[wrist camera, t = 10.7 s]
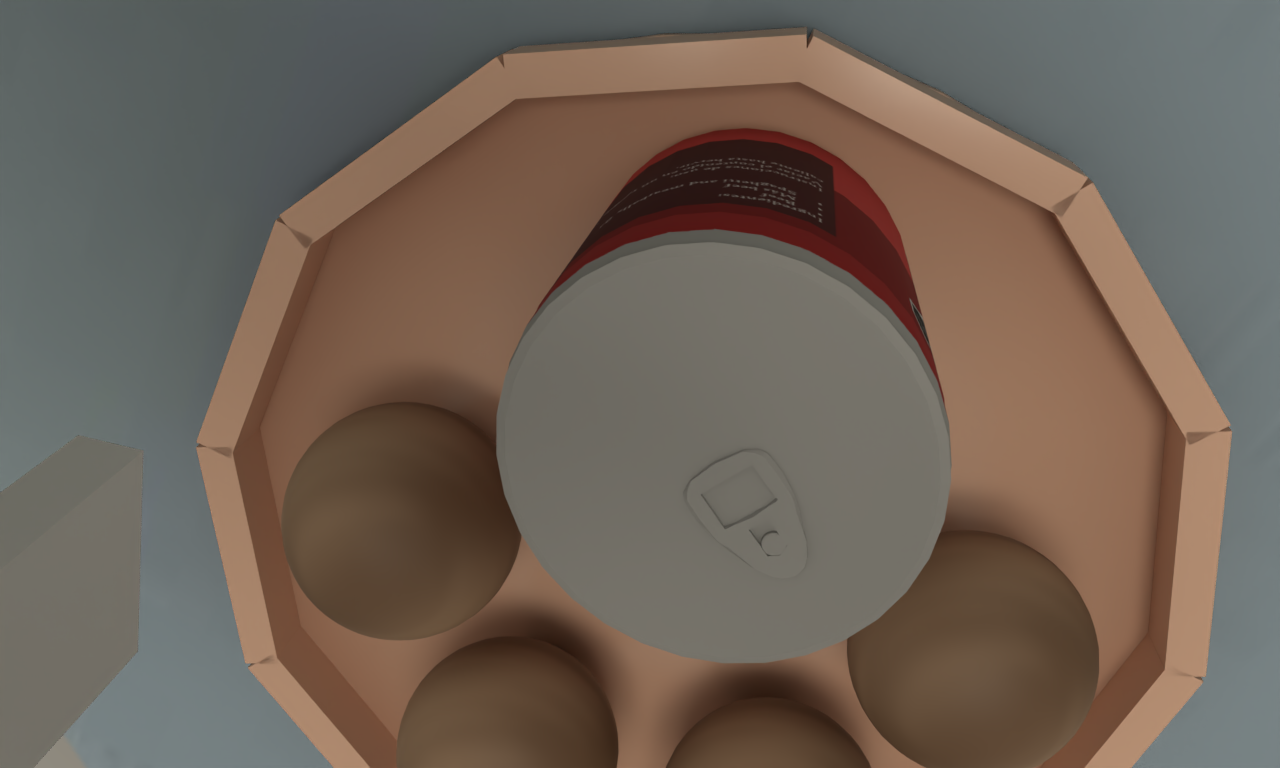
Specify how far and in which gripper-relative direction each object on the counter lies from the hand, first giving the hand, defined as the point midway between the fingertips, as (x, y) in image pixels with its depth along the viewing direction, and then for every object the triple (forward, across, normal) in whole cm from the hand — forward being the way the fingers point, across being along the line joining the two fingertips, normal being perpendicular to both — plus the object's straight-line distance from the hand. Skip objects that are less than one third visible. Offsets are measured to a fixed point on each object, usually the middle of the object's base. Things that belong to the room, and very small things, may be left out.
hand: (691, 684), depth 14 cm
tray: (+19, 0, -8) cm, 20 cm away
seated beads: (+18, 0, -9) cm, 20 cm away
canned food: (+18, 0, -1) cm, 18 cm away
